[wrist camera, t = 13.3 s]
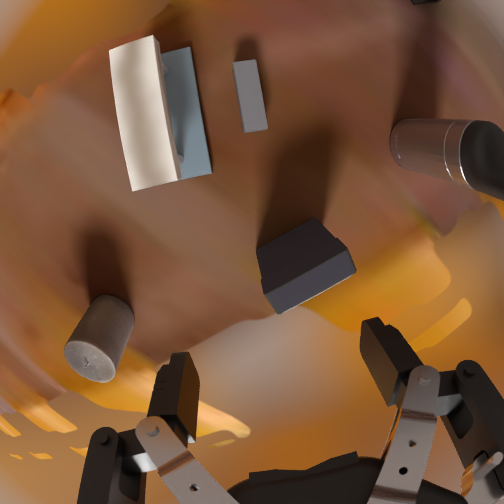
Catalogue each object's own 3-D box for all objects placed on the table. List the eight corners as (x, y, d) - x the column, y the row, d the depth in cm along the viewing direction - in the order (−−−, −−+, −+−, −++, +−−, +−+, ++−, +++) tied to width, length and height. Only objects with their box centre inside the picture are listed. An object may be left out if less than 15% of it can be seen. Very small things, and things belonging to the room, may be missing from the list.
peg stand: (191, 49, 33) (182, 30, 25) (212, 172, 41) (207, 179, 33) (117, 71, 33) (94, 59, 25) (138, 188, 40) (118, 200, 33)
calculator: (265, 267, 47) (280, 320, 33) (253, 246, 46) (263, 295, 32) (323, 235, 46) (360, 276, 32) (312, 213, 44) (348, 248, 30)
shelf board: (158, 42, 25) (152, 35, 23) (182, 176, 32) (177, 180, 30) (118, 56, 25) (109, 50, 22) (140, 186, 32) (132, 191, 30)
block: (252, 68, 35) (255, 59, 30) (263, 130, 39) (267, 128, 34) (232, 71, 35) (232, 62, 30) (243, 133, 39) (245, 132, 34)
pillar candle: (82, 304, 48) (50, 354, 34) (115, 286, 47) (83, 338, 33) (112, 339, 51) (89, 392, 38) (145, 325, 50) (125, 382, 37)
